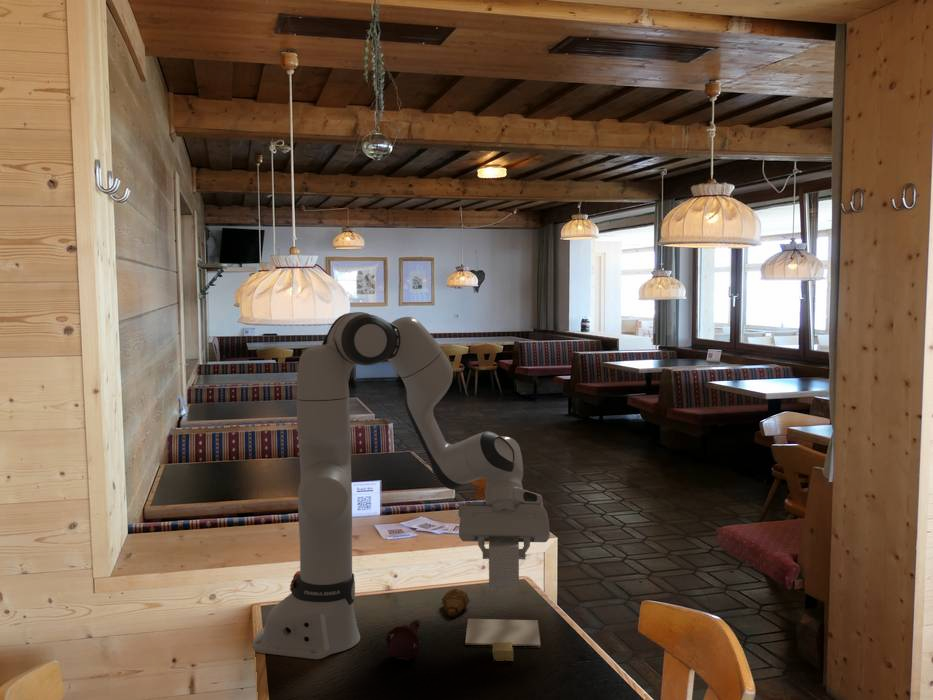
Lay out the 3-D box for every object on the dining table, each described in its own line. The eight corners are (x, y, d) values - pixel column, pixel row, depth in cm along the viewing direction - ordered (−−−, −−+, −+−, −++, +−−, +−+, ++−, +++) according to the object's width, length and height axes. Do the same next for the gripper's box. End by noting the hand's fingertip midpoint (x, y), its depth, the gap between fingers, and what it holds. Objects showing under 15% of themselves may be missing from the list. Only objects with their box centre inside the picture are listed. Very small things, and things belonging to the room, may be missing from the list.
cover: (489, 587, 171) (488, 546, 170) (489, 577, 177) (489, 537, 176) (518, 588, 170) (518, 547, 170) (518, 577, 177) (518, 538, 176)
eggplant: (411, 645, 155) (436, 622, 169) (377, 631, 157) (405, 610, 171) (401, 679, 155) (427, 653, 169) (368, 664, 157) (396, 640, 172)
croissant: (466, 620, 183) (466, 599, 183) (437, 619, 184) (437, 598, 184) (472, 599, 197) (472, 579, 196) (445, 598, 198) (445, 578, 197)
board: (465, 645, 169) (465, 643, 169) (467, 621, 182) (467, 618, 182) (540, 647, 169) (540, 644, 169) (537, 622, 182) (537, 620, 182)
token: (493, 662, 162) (493, 650, 162) (492, 654, 166) (492, 642, 166) (513, 662, 162) (513, 650, 162) (511, 653, 166) (511, 642, 166)
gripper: (458, 494, 180) (455, 550, 171) (548, 495, 179) (550, 551, 170) (459, 508, 185) (457, 564, 176) (547, 509, 184) (549, 565, 175)
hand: (503, 558), depth 173 cm, fingers closed on cover, 6 cm apart
